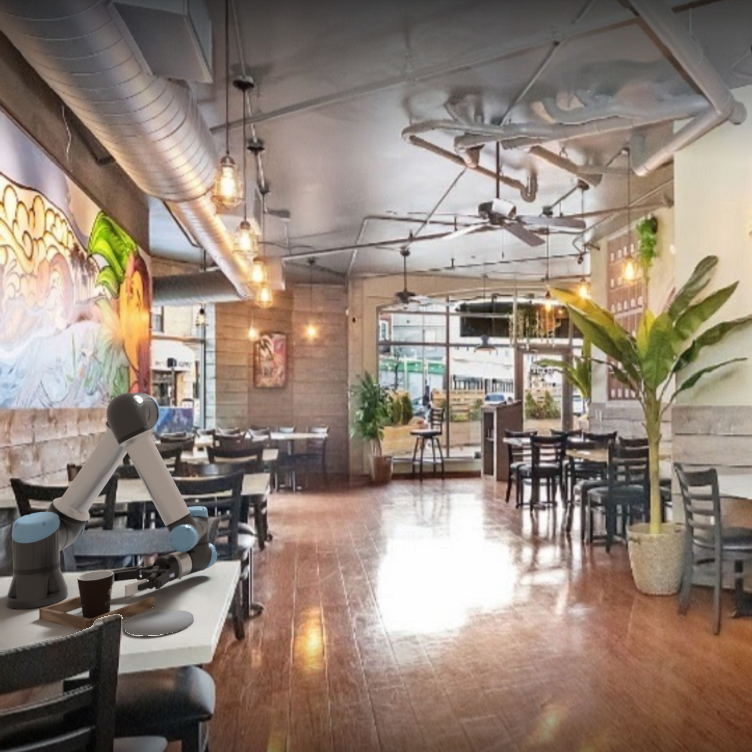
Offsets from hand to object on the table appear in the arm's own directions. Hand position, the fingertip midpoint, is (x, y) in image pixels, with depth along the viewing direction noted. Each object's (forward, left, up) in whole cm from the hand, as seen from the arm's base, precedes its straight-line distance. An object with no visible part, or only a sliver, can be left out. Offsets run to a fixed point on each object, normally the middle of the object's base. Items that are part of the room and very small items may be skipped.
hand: (108, 587), depth 168 cm
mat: (+16, +14, -6) cm, 22 cm away
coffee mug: (+1, -2, -6) cm, 6 cm away
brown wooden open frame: (+1, -2, -6) cm, 6 cm away
